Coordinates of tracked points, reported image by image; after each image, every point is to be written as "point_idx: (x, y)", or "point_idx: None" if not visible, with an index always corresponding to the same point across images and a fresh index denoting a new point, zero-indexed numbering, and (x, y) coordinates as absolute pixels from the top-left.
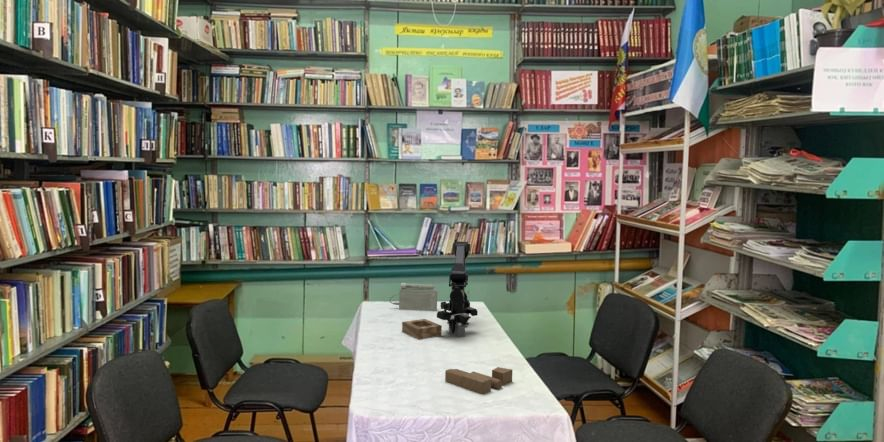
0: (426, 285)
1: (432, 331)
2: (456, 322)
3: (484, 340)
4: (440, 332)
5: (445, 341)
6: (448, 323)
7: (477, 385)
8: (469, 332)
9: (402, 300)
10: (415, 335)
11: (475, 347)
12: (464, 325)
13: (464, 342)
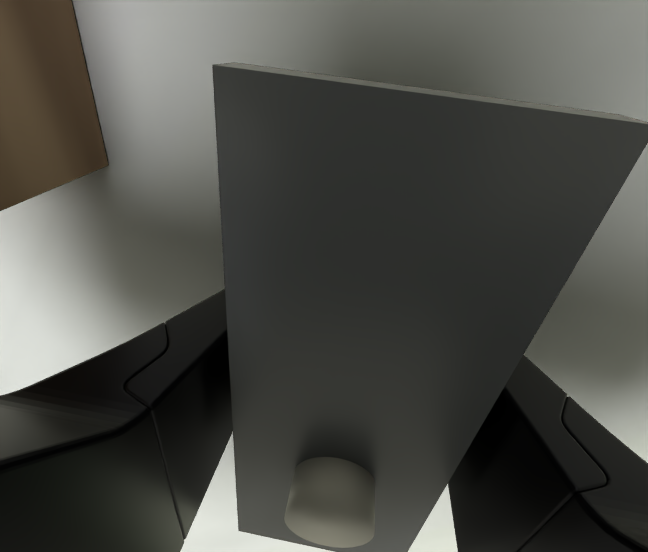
0: None
1: None
2: (483, 330)
3: (426, 523)
4: (44, 180)
5: (76, 361)
6: (232, 167)
7: None
8: (632, 309)
9: None
10: None
11: (235, 537)
12: (392, 535)
13: (234, 464)
